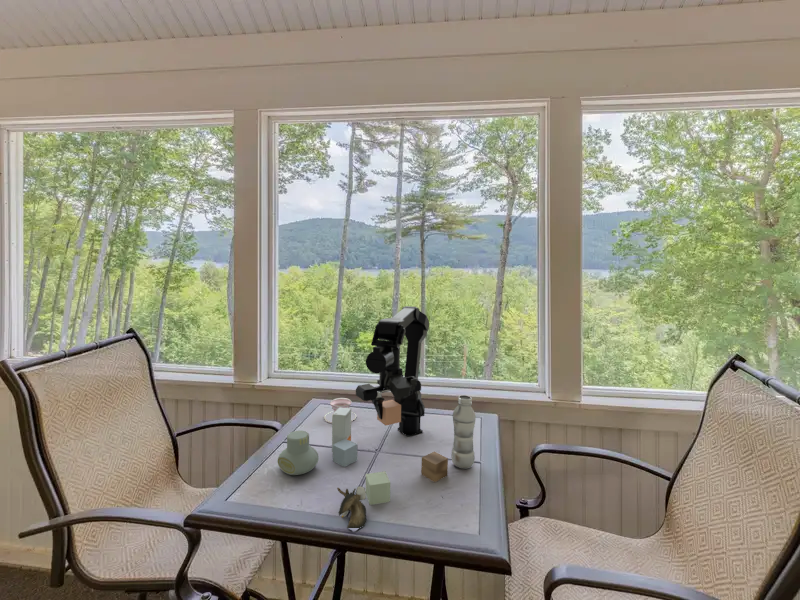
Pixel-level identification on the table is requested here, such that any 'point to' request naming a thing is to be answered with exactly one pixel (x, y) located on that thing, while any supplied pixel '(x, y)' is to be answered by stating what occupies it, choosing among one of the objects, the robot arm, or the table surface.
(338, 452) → the slate cube
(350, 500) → the deer head figurine
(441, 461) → the walnut cube
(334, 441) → the skincare box
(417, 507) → the table surface
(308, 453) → the air freshener
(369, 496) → the sage cube
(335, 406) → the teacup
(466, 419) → the plastic bottle
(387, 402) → the terracotta cube
